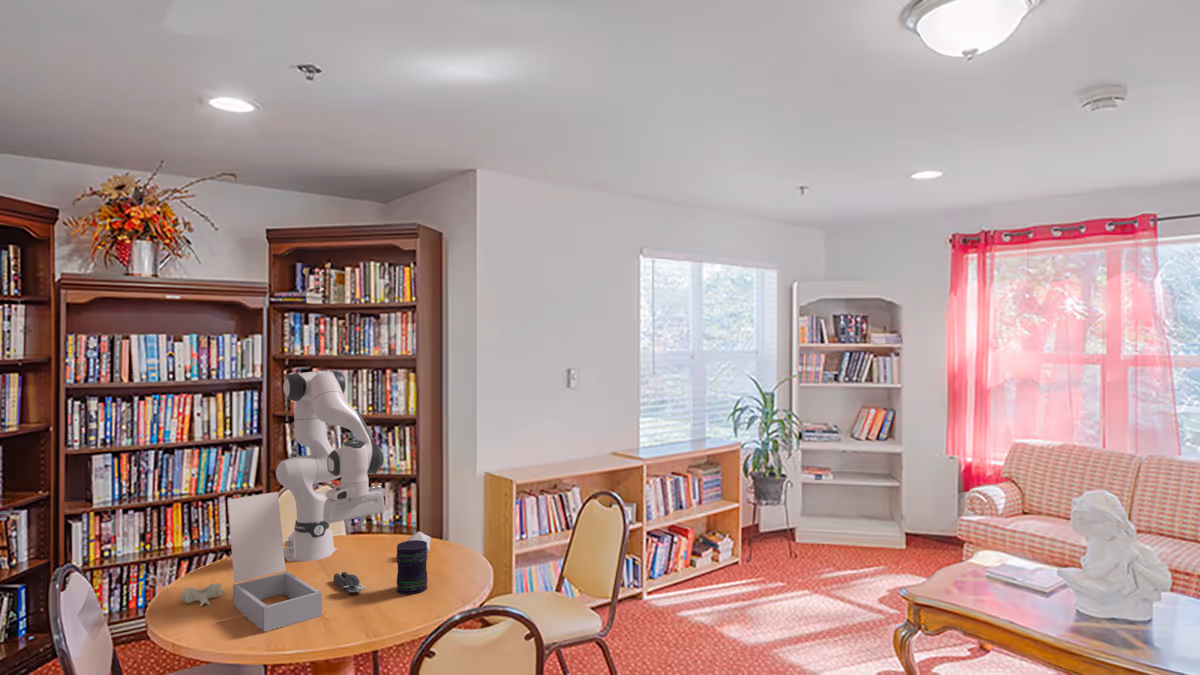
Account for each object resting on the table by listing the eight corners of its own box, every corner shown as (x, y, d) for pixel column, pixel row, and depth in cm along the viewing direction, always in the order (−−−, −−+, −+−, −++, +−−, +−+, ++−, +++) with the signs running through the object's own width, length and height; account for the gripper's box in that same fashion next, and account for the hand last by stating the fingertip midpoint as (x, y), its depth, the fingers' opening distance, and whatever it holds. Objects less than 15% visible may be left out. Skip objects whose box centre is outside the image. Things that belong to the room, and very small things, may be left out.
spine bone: (182, 616, 207) (183, 602, 206) (179, 599, 214) (179, 585, 214) (226, 608, 214) (227, 594, 213) (222, 592, 222) (222, 578, 221)
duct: (233, 607, 210) (233, 584, 210) (287, 592, 222) (287, 571, 222) (264, 632, 192) (264, 608, 192) (321, 615, 203) (321, 592, 203)
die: (435, 556, 259) (435, 530, 259) (417, 562, 251) (417, 535, 251) (419, 552, 263) (419, 526, 263) (401, 558, 256) (401, 532, 256)
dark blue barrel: (433, 589, 224) (433, 544, 224) (406, 597, 217) (406, 551, 217) (417, 582, 231) (417, 538, 231) (391, 589, 224) (390, 544, 224)
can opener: (366, 595, 220) (366, 575, 220) (351, 598, 217) (351, 579, 217) (347, 579, 235) (346, 560, 235) (332, 582, 232) (332, 563, 232)
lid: (235, 582, 211) (234, 582, 211) (285, 570, 222) (284, 570, 222) (228, 499, 215) (227, 499, 216) (277, 491, 226) (276, 491, 227)
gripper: (379, 483, 236) (379, 522, 236) (320, 493, 222) (321, 535, 222) (388, 486, 232) (388, 526, 232) (329, 496, 217) (329, 539, 217)
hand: (354, 530), depth 227 cm, fingers closed
